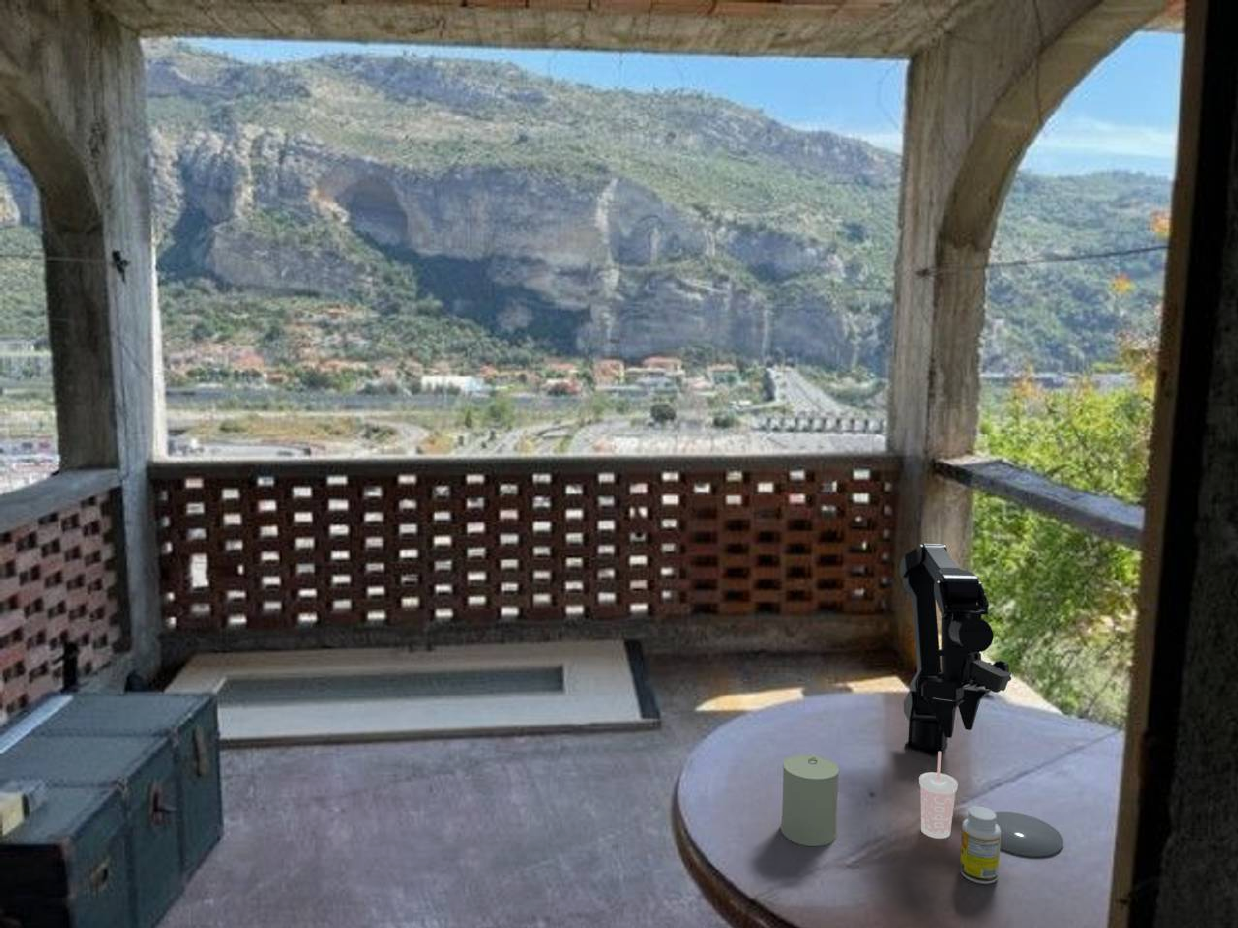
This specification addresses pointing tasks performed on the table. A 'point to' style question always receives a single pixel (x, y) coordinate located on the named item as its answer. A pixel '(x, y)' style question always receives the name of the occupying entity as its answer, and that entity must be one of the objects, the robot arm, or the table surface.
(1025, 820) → the coaster
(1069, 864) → the table surface
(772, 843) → the table surface
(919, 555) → the robot arm
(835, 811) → the can
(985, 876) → the supplement bottle
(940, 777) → the beverage cup
